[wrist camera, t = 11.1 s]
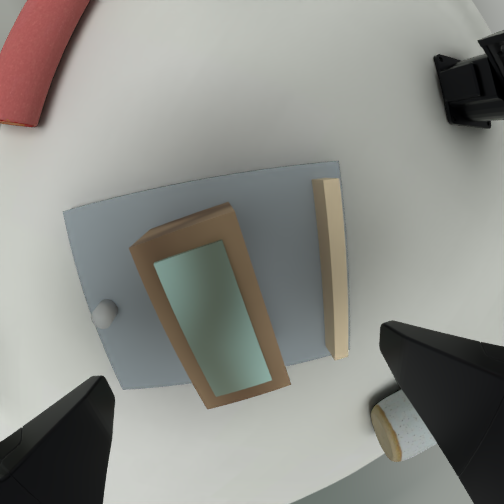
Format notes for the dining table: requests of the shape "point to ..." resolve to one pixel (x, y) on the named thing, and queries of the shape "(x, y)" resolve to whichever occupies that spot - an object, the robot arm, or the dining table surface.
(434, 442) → the ceramic mug
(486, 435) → the robot arm
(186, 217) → the frame
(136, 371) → the grey flat panel
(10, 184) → the dining table surface
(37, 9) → the blood vessel
